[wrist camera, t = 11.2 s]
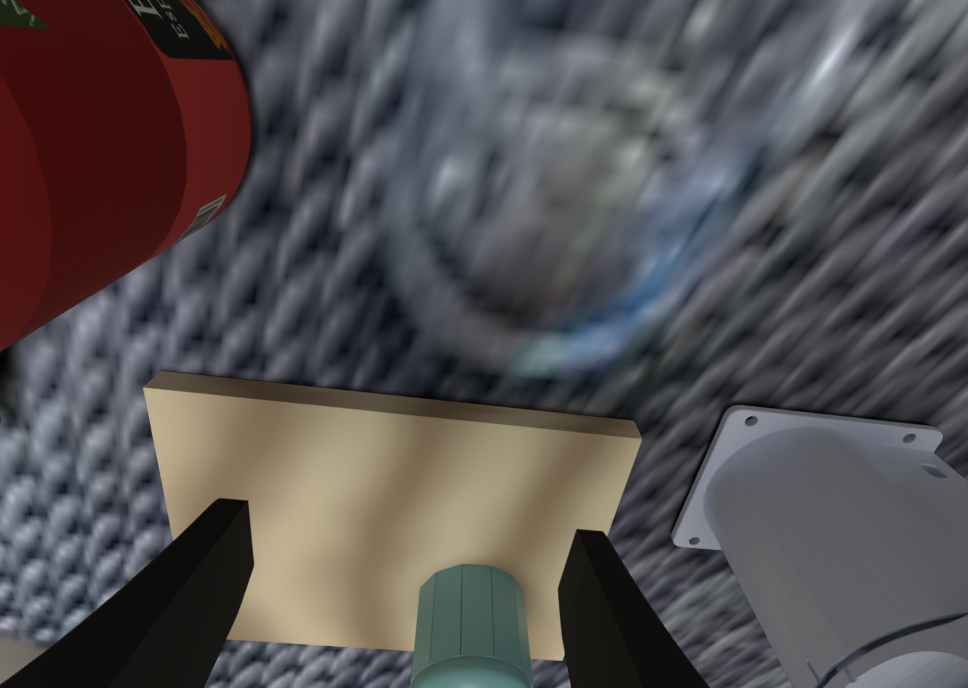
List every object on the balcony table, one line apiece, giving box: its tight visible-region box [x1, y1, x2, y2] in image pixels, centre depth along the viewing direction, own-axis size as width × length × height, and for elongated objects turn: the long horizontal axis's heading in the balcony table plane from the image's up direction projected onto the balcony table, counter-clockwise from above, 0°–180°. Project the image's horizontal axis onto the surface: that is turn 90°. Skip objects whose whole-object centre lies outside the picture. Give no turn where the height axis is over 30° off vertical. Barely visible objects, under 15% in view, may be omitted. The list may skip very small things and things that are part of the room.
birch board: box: [143, 371, 642, 661], centre depth 24 cm, size 19×15×1 cm
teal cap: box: [410, 564, 533, 688], centre depth 23 cm, size 5×5×5 cm
